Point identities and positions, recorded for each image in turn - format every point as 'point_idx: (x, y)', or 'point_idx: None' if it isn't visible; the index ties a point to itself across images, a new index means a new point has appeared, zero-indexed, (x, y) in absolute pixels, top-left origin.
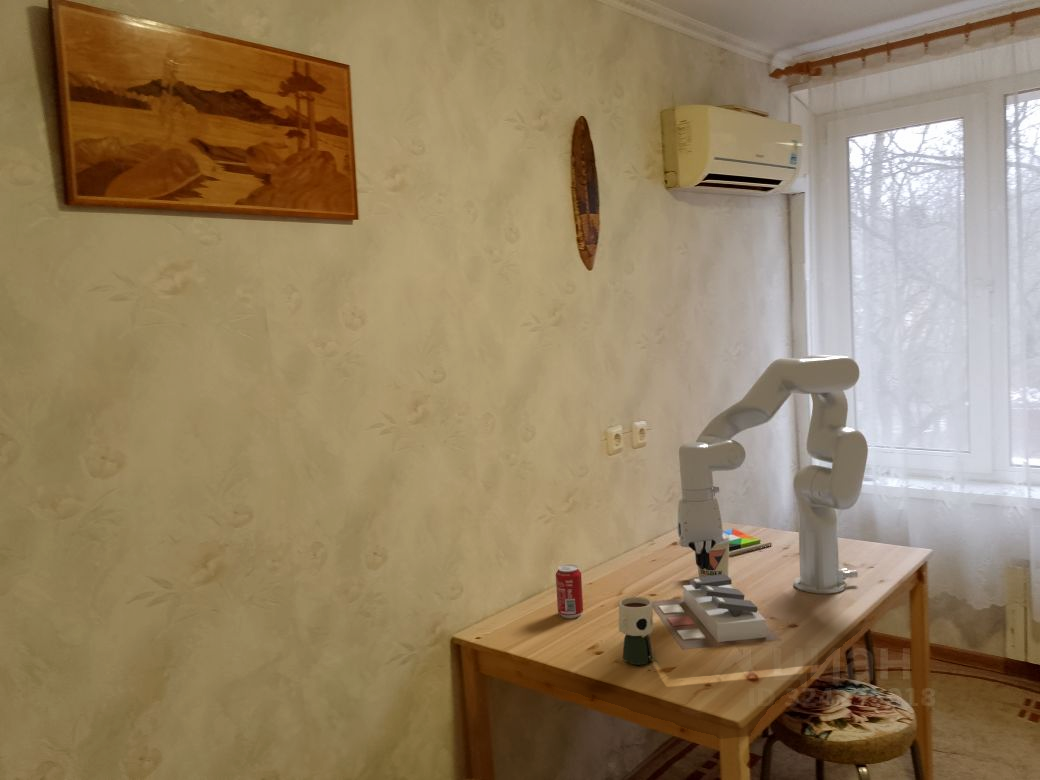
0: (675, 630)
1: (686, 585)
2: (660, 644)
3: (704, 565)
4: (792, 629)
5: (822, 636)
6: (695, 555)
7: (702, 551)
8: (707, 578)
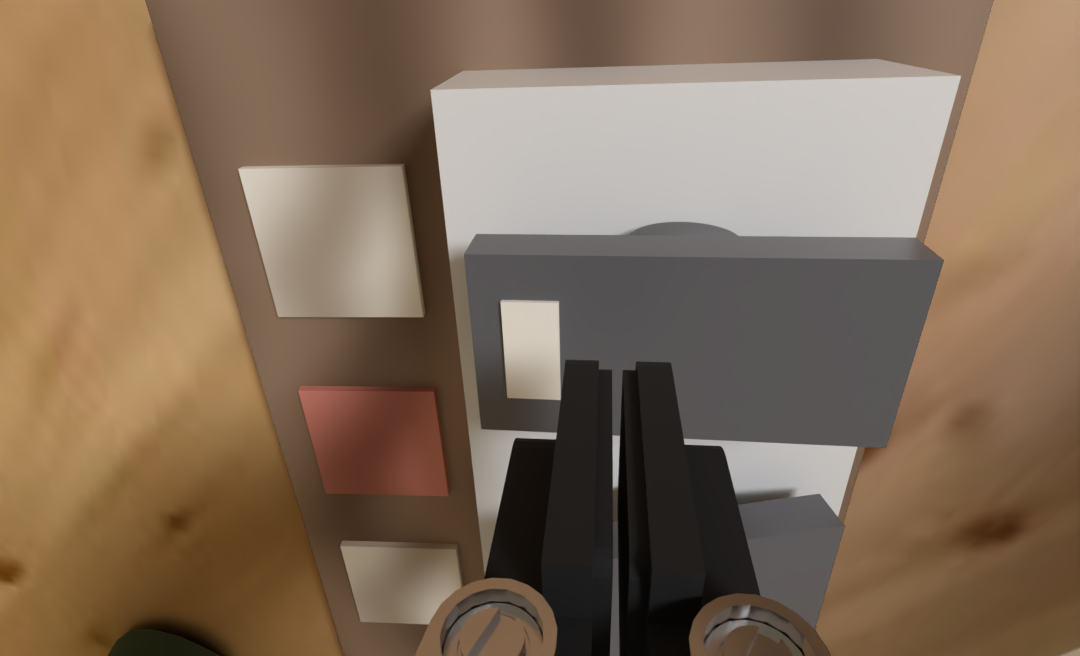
0: (336, 525)
1: (467, 95)
2: (268, 562)
3: (619, 507)
4: (954, 564)
5: (1024, 644)
6: (492, 543)
7: (641, 633)
8: (663, 323)
